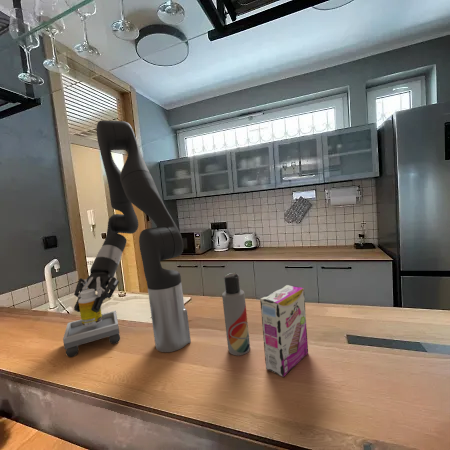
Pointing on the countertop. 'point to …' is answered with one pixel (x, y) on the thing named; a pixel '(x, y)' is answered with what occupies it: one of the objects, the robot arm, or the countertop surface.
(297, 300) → the candy bar box
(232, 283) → the lotion bottle
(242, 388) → the countertop surface
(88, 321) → the supplement bottle
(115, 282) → the robot arm
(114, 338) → the square grey tray
